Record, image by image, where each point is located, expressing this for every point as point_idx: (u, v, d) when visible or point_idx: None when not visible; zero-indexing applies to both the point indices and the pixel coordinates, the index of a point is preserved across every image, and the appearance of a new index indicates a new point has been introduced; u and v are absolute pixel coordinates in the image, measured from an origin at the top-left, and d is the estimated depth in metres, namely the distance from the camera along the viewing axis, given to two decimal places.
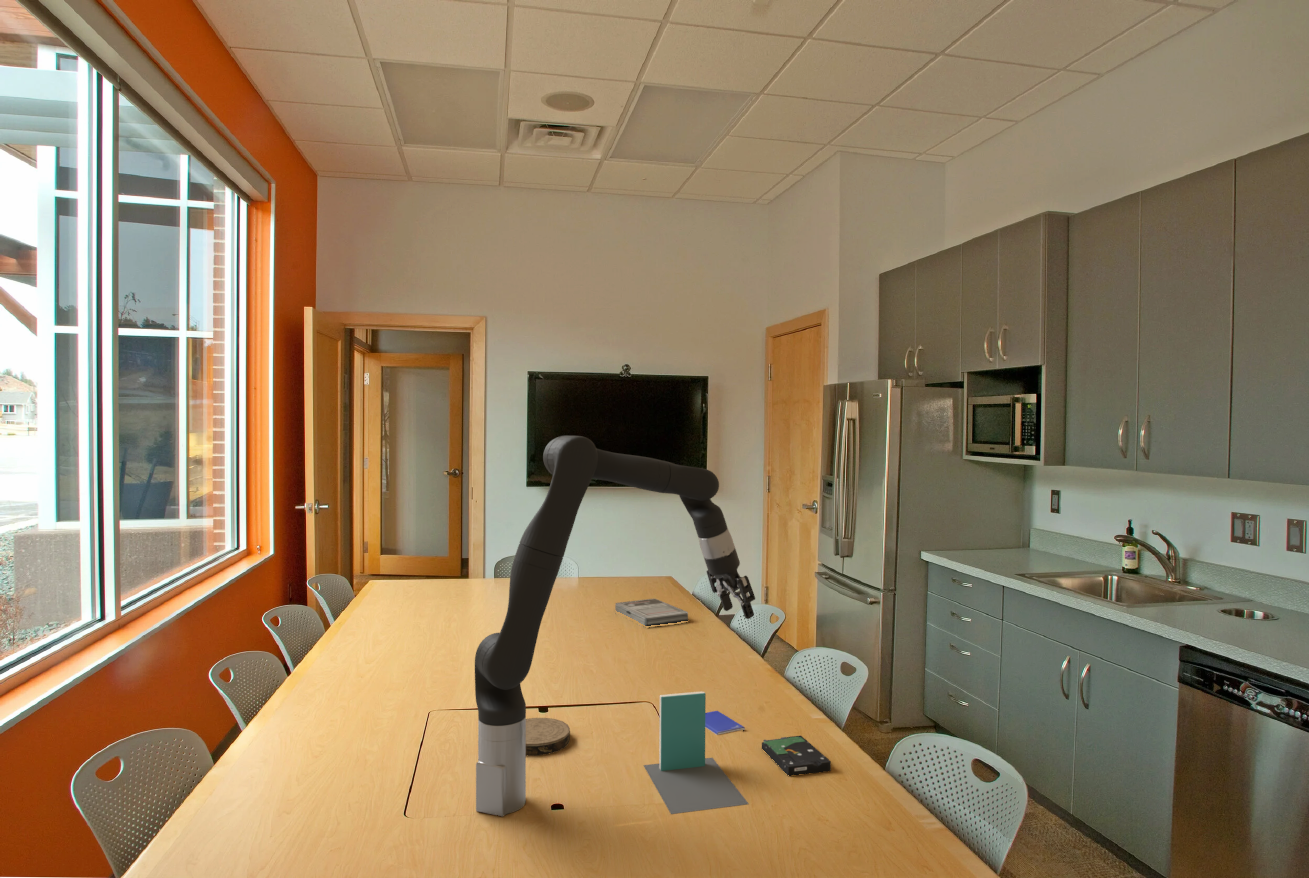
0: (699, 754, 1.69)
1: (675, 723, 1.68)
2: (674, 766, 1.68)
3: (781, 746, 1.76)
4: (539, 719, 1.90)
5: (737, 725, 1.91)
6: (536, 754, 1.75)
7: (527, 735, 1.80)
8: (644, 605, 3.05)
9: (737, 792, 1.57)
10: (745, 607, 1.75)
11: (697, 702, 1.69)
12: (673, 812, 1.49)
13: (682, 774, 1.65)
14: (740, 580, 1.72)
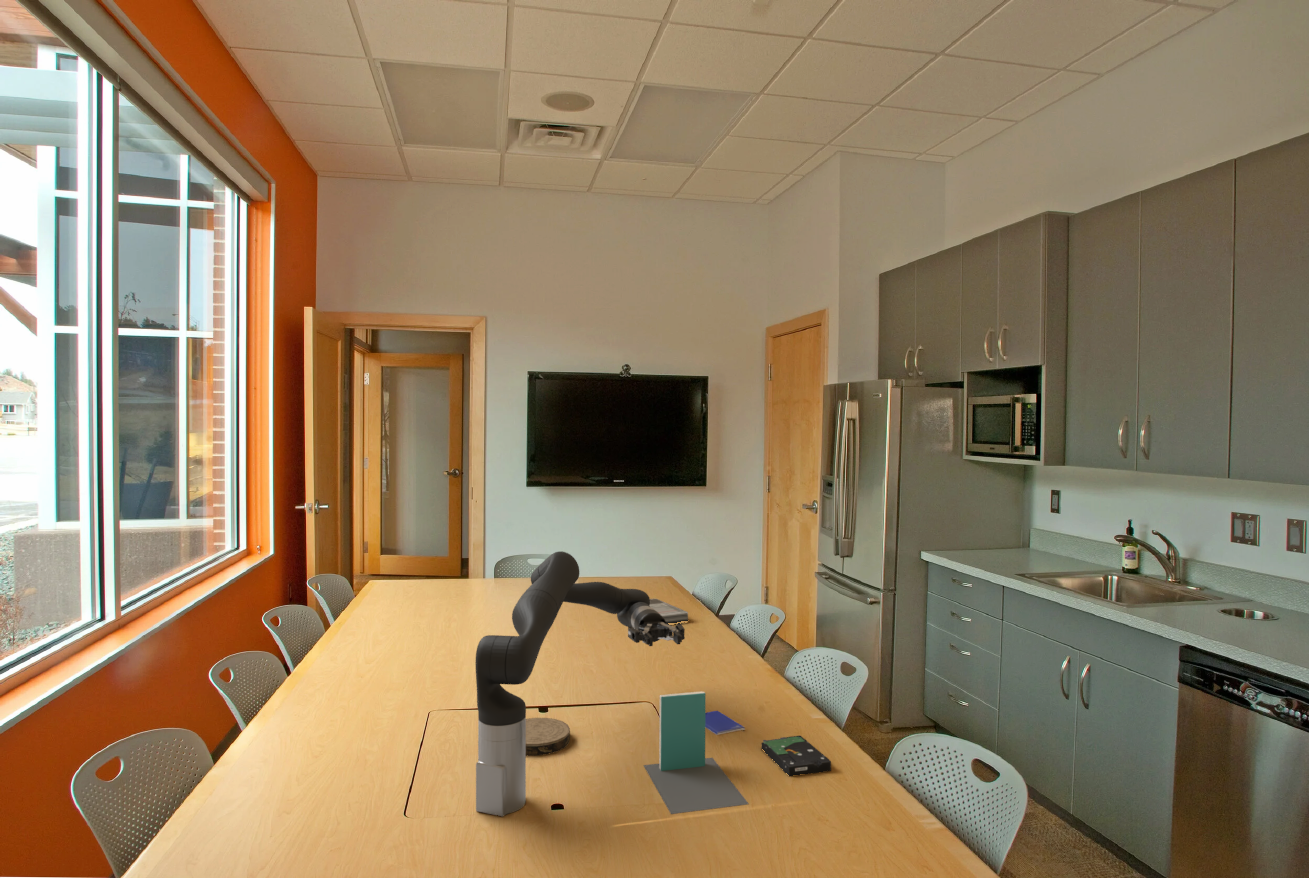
0: (699, 754, 1.69)
1: (675, 723, 1.68)
2: (674, 766, 1.68)
3: (780, 746, 1.76)
4: (539, 719, 1.90)
5: (737, 725, 1.91)
6: (536, 754, 1.75)
7: (527, 735, 1.80)
8: None
9: (737, 792, 1.57)
10: (678, 633, 1.87)
11: (697, 702, 1.69)
12: (673, 812, 1.49)
13: (682, 774, 1.65)
14: None
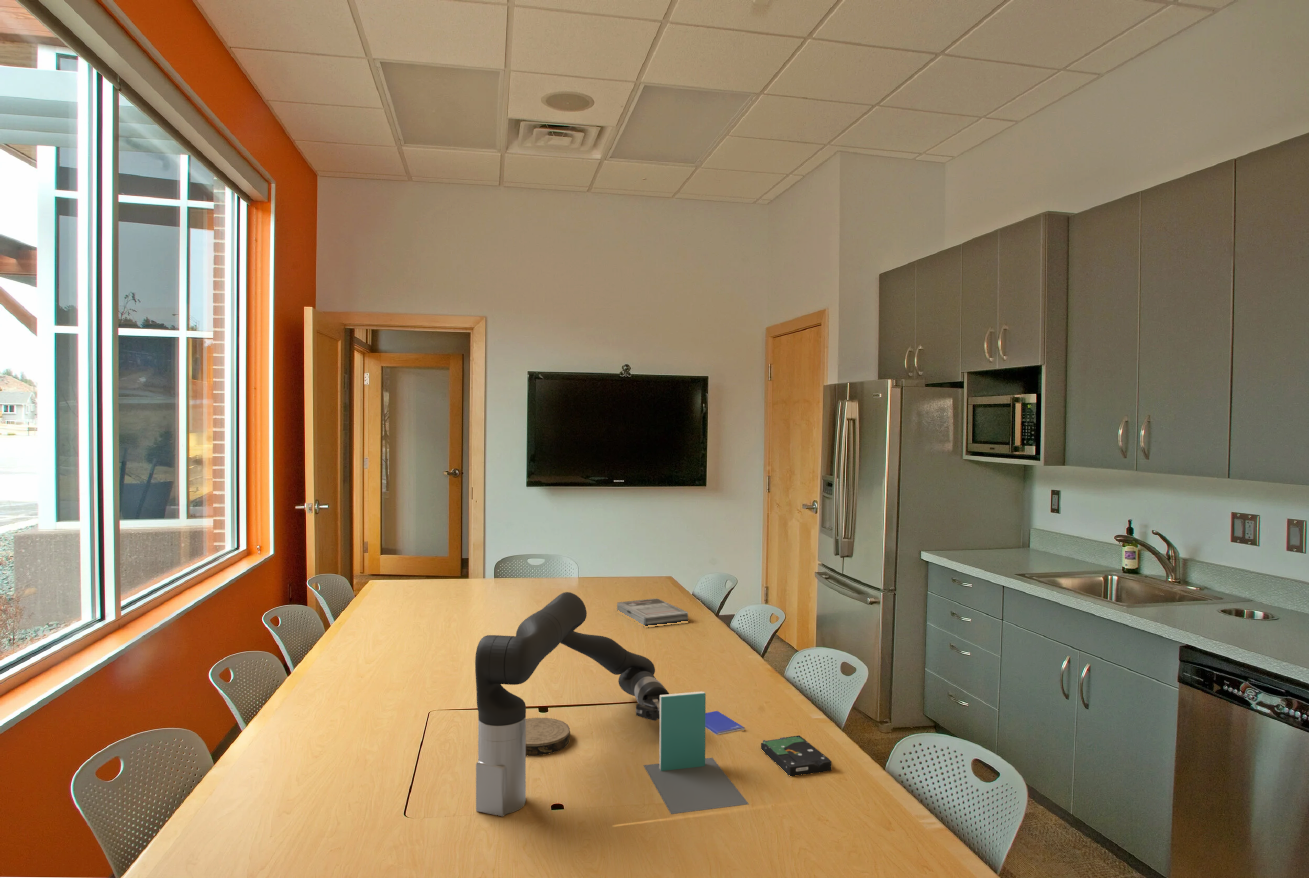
0: (699, 754, 1.69)
1: (675, 723, 1.68)
2: (674, 766, 1.68)
3: (780, 746, 1.76)
4: (539, 719, 1.90)
5: (736, 725, 1.91)
6: (536, 754, 1.75)
7: (527, 735, 1.80)
8: (645, 605, 3.06)
9: (737, 792, 1.57)
10: None
11: (697, 702, 1.69)
12: (673, 812, 1.49)
13: (682, 774, 1.65)
14: None
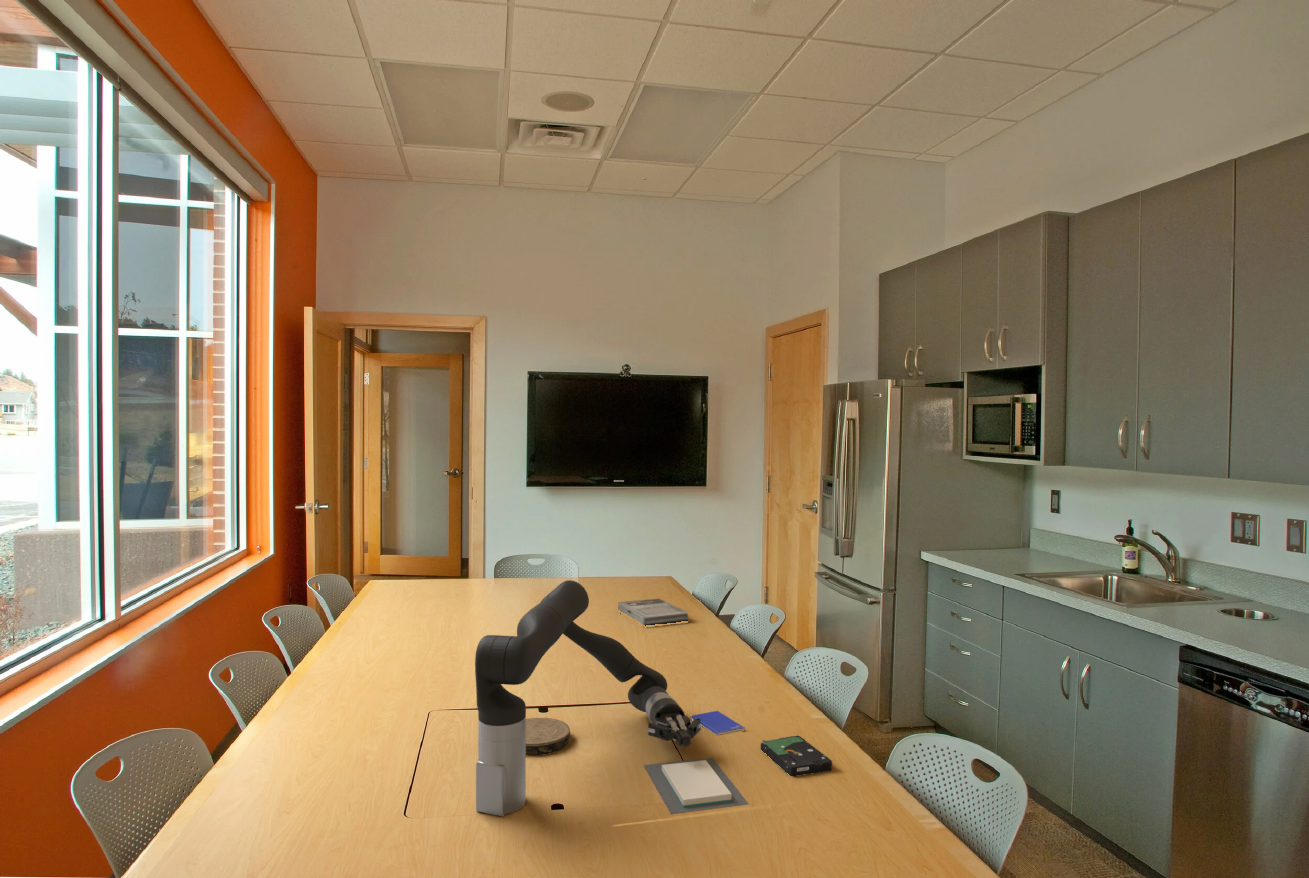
0: None
1: None
2: None
3: (780, 746, 1.76)
4: (539, 719, 1.90)
5: (737, 725, 1.91)
6: (536, 754, 1.75)
7: (527, 735, 1.80)
8: (646, 605, 3.06)
9: (737, 792, 1.57)
10: (686, 733, 1.69)
11: None
12: (673, 812, 1.49)
13: None
14: None
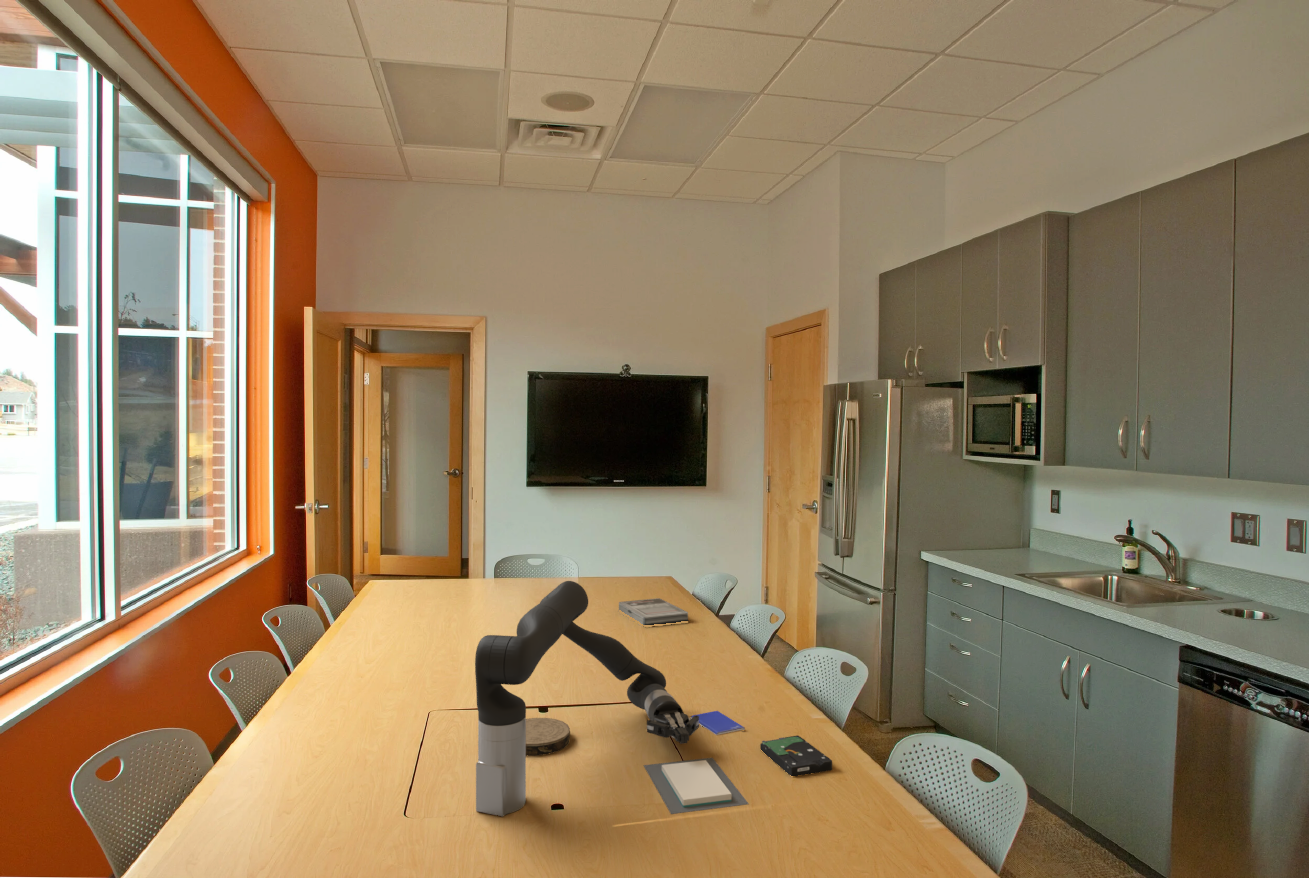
0: None
1: None
2: None
3: (780, 746, 1.76)
4: (539, 719, 1.90)
5: (736, 725, 1.91)
6: (536, 754, 1.75)
7: (527, 735, 1.80)
8: (646, 604, 3.06)
9: (737, 792, 1.57)
10: (684, 730, 1.71)
11: None
12: (673, 812, 1.49)
13: None
14: None
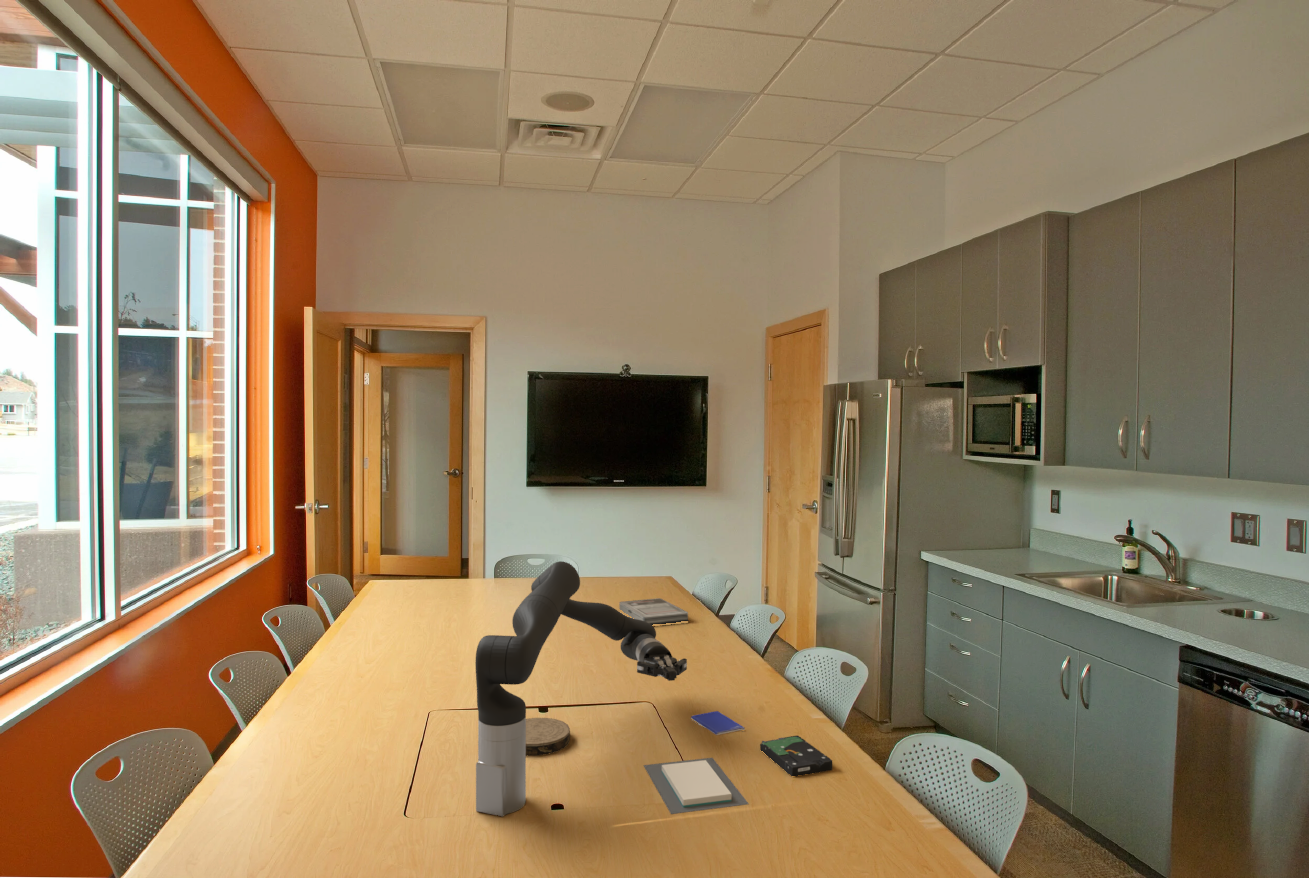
0: None
1: None
2: None
3: (780, 746, 1.76)
4: (539, 719, 1.90)
5: (736, 725, 1.91)
6: (536, 754, 1.75)
7: (527, 735, 1.80)
8: (647, 604, 3.06)
9: (737, 792, 1.57)
10: (672, 669, 1.80)
11: None
12: (673, 812, 1.49)
13: None
14: None
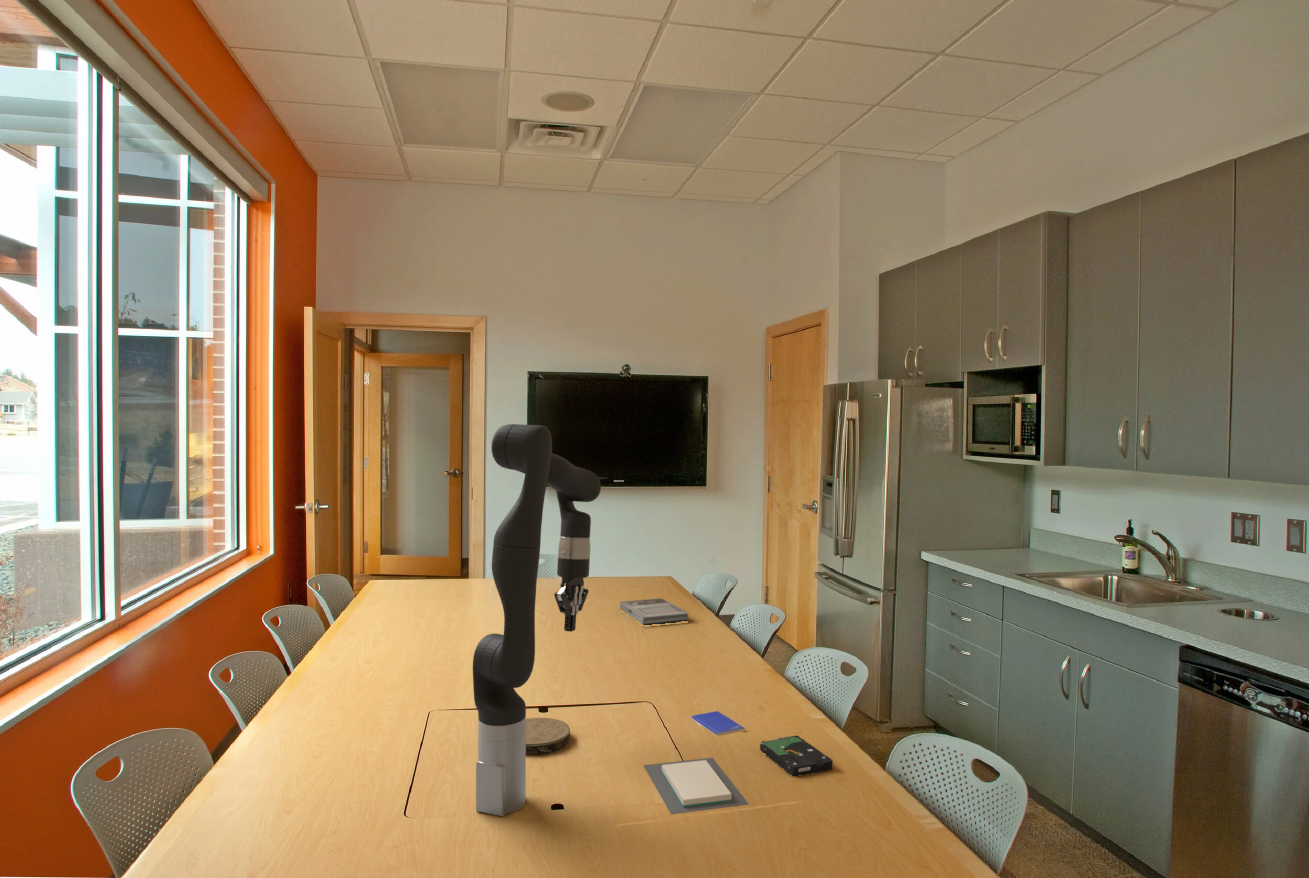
0: None
1: None
2: None
3: (780, 746, 1.76)
4: (539, 719, 1.90)
5: (736, 726, 1.91)
6: (536, 754, 1.75)
7: (527, 735, 1.80)
8: (647, 604, 3.07)
9: (737, 792, 1.57)
10: None
11: None
12: (673, 812, 1.49)
13: None
14: None
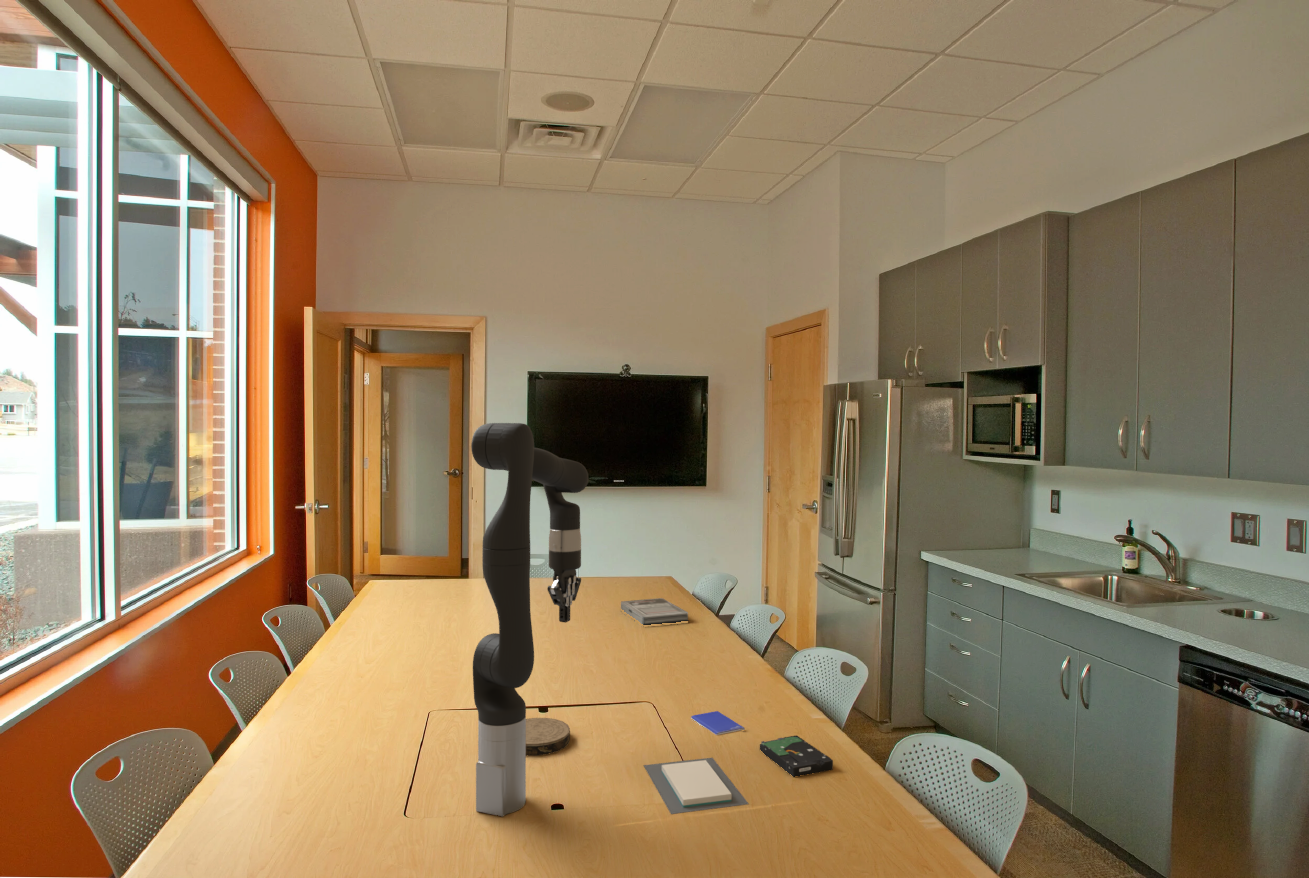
0: None
1: None
2: None
3: (780, 747, 1.76)
4: (539, 719, 1.90)
5: (736, 726, 1.91)
6: (536, 754, 1.75)
7: (527, 735, 1.80)
8: (648, 604, 3.07)
9: (737, 792, 1.57)
10: (569, 607, 1.82)
11: None
12: (673, 812, 1.49)
13: None
14: None
